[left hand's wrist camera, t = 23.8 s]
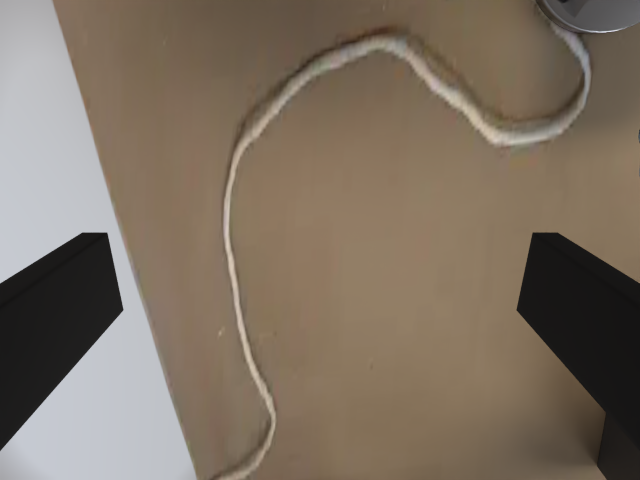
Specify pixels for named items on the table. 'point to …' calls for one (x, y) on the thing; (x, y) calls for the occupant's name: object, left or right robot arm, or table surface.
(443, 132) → the table surface
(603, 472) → the bar
